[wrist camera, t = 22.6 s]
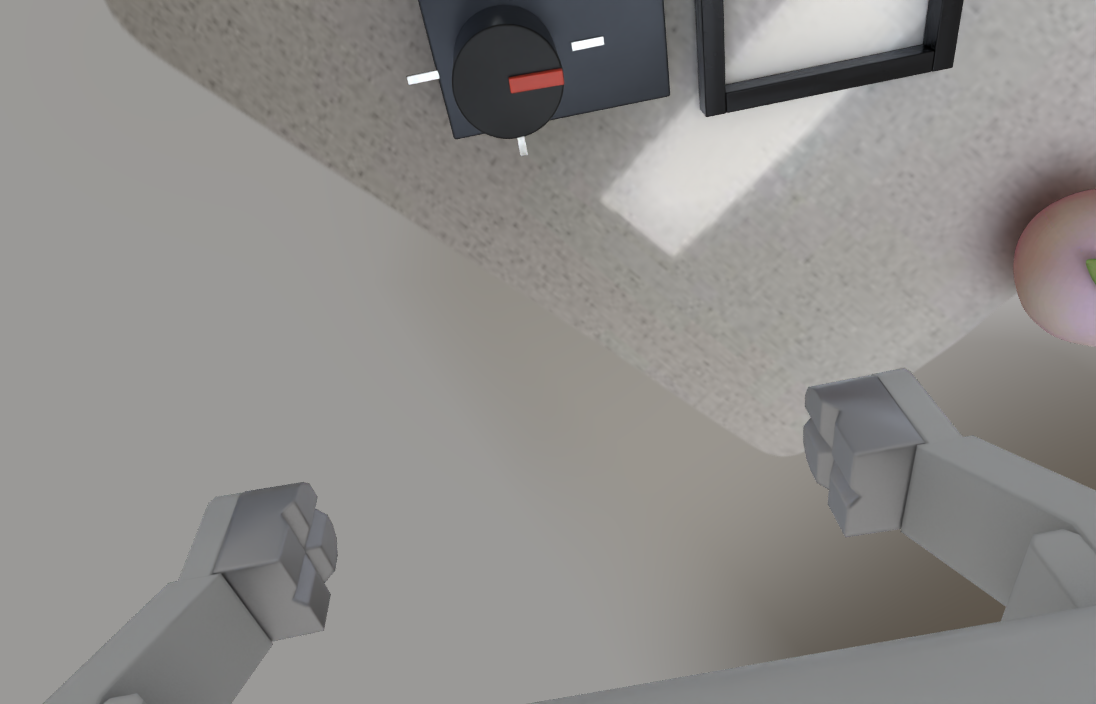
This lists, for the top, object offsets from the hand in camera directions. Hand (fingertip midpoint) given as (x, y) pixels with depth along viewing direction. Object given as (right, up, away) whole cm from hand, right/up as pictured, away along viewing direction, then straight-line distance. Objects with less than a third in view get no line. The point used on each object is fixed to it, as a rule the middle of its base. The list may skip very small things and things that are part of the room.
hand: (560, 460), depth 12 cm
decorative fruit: (+29, +9, +30) cm, 43 cm away
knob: (-2, +14, +19) cm, 24 cm away
